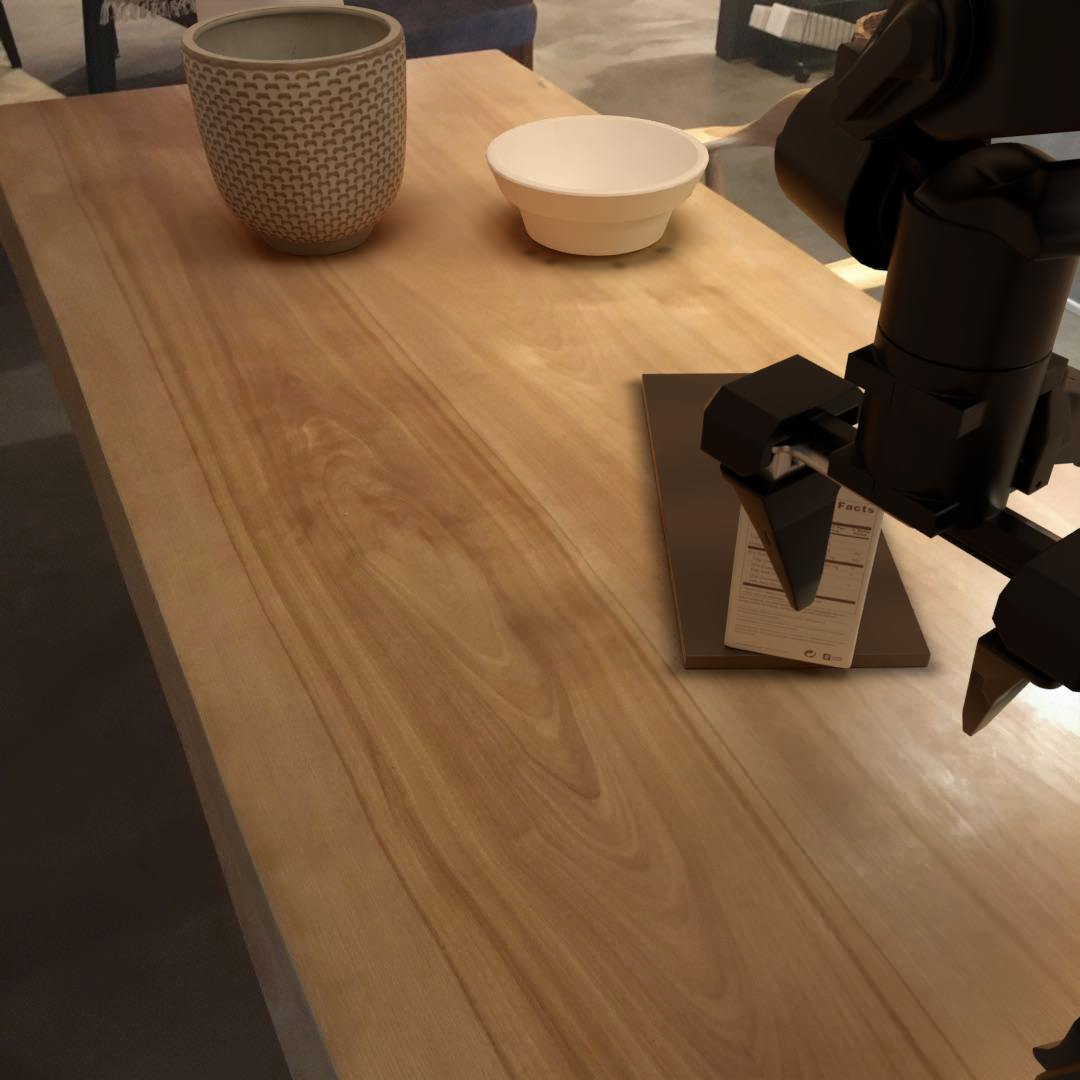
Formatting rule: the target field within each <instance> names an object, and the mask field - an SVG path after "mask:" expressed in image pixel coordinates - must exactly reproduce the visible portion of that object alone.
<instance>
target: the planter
mask: <svg viewBox="0 0 1080 1080" xmlns="http://www.w3.org/2000/svg"><path fill="white" fill-rule="evenodd" d="M404 31H405V30H404V27H403V25H402V23H400V22H399V21H398V20H397V19H396V18H395V17H393V16H391V15H389V14H388V13H384V12H381V11H379V10H375V9H371V8H368V7H367V8H366V7H361V6H355V5H347V4H344V5H338V4H315V3H306V4H281V5H270V6H261V7H254V8H247V9H241V10H236V11H231V12H227V13H223V14H219V15H216V16H213V17H210V18H207V19H205V20H202V21H200V22H198V21H197V22H196V23H194V24H192V25H191V26H189V27H188V28H187V29H186V30H184V32H183V33H182V34H181V37H180V56H181V62H182V66H183V72H184V75H185V80H186V85H187V87H188V91H189V96H190V99H191V103H192V108H193V112H194V117H195V120H196V125H197V129H198V133H199V136H200V140H201V142H202V147H203V150H204V153H205V154H204V155H205V157H206V160H207V163H208V167H209V170H210V172H211V175H212V178H213V181H214V183H215V185H216V187H217V190H218V193H219V194H220V196H221V198H222V200H223V201H224V203H225V205H226V207H227V208H228V209H229V210H230V211H231V213H232V214H233V215H234V216H236V218H237V219H238V220H239V221H240V222H241V223H242V224H244V225H245V226H247V227H248V228H250V229H252V230H254V232H257V233H258V234H259V235H260V237H261V238H262V240H263V241H264V242H265V243H266V244H267V245H268V246H270V247H271V248H272V249H274V250H275V251H277V252H280V253H283V254H288V255H293V256H302V257H319V256H320V257H321V256H329V255H335V254H339V253H343V252H346V251H350V250H352V249H354V248H356V247H358V246H360V245H361V244H363V243H365V241H367V239H368V238H369V237H370V235H371V233H372V231H373V229H374V227H375V224H376V223H378V222H379V221H380V220H381V219H382V218H383V217H384V216H385V215H386V213H388V211H389V210H390V208H391V207H392V206H393V204H394V202H395V201H396V199H397V197H398V195H399V192H400V189H401V187H402V183H403V178H404V172H405V164H406V152H407V123H408V122H407V121H408V119H407V118H408V97H407V95H408V94H407V92H408V91H407V88H408V87H407V42H406V37H405V32H404Z"/></svg>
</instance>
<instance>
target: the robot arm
mask: <svg viewBox="0 0 1080 1080" xmlns="http://www.w3.org/2000/svg"><path fill="white" fill-rule="evenodd" d="M1074 132H1080V0H892V2H891V3H890V5H889V7H888V8H887V10H886V11H885V13H884V15H883V17H881V19H880V21H879V23H878V24H877V26H876V28H875V29H874V31H873V32H872V34H871V36H870V37H869V39H868V40H865V41H851V42H841V43H840V44H839V45H838V46H837V48H836V56H835V62H834V70H833V75H831V76H829V77H827V78H825V79H824V80H822V81H821V82H819V83H818V84H816V85H815V86H814V87H812V88H811V89H810V90H809V91H808V92H807V93H806V94H805V95H804V96H803V97H802V98H801V99H800V100H799V101H798V102H797V104H796V106H795V107H794V108H793V110H792V111H791V112H790V114H789V115H788V117H787V118H786V121H785V124H784V126H783V128H782V130H781V132H780V133H779V134H778V135H777V137H776V138H775V139H776V140H775V145H774V152H773V159H774V161H773V163H774V165H773V167H774V172H775V176H776V180H777V183H778V186H779V188H780V189H781V191H782V192H783V194H784V195H785V197H786V198H787V199H788V200H789V201H790V202H791V203H792V204H793V205H794V206H796V207H797V208H798V209H799V210H800V211H801V212H802V213H803V214H805V215H806V217H808V218H809V219H810V220H811V221H812V222H813V223H814V224H816V225H817V227H819V228H820V229H821V230H822V231H823V232H824V233H826V234H827V236H829V237H830V238H831V239H832V240H833V241H835V243H837V245H839V246H840V247H841V248H842V249H843V250H844V251H846V252H847V253H848V254H849V255H850V256H851V257H852V258H854V260H856V261H857V262H858V263H859V264H860V265H863V266H865V267H867V268H869V269H872V270H874V271H880V272H882V271H883V272H886V277H885V282H884V286H883V287H884V288H883V293H882V297H881V302H880V309H879V313H878V318H877V324H876V328H875V334H874V340H873V342H871V343H869V344H867V345H864V346H862V347H860V348H858V349H855V350H853V351H851V352H849V353H847V359H846V364H845V370H844V376H843V377H841V376H840V375H838V374H836V373H834V372H832V371H831V370H828V369H826V368H825V367H823V366H820V365H819V364H817V363H815V362H813V360H809V359H808V358H806V357H804V356H803V355H800V354H798V353H795V354H794V355H791V356H789V357H786V358H784V359H782V360H779V361H777V362H775V363H773V364H769V365H767V366H765V367H763V368H761V369H758V370H755V371H753V372H750V373H751V374H748V375H746V376H744V377H741V378H739V379H737V380H734V381H732V382H730V383H727V384H725V385H722V386H721V387H719V388H718V389H716V390H715V392H714V393H713V395H712V396H711V397H710V399H709V400H708V402H707V403H706V405H705V406H704V413H703V423H702V433H701V445H700V450H702V451H704V452H705V453H707V454H708V455H710V456H711V457H713V458H714V459H716V460H717V461H719V462H720V468H719V470H720V475H721V477H722V478H723V479H724V480H725V481H727V482H728V483H729V484H730V485H731V486H732V487H733V489H734V491H735V493H736V495H737V496H738V498H739V500H740V502H741V504H742V506H743V508H744V510H745V511H746V513H747V515H748V517H749V519H750V521H751V523H752V525H753V526H754V528H755V530H756V532H757V534H758V536H759V538H760V540H761V542H762V544H763V547H764V549H765V550H766V553H767V555H768V557H769V559H770V562H771V564H772V566H773V568H774V570H775V573H776V575H777V577H778V579H779V582H780V584H781V586H782V588H783V590H784V593H785V595H786V597H787V599H788V602H789V604H790V606H791V607H792V608H793V609H794V610H796V611H801V610H803V609H804V608H806V607H808V606H810V605H811V604H812V603H813V602H814V600H815V597H816V594H817V591H818V588H819V584H820V581H821V578H822V574H823V569H824V564H825V558H826V553H827V548H828V542H829V537H830V532H831V526H832V521H833V516H834V510H835V505H836V499H837V496H838V493H839V490H840V489H841V487H844V488H845V489H847V490H849V491H850V492H852V493H854V494H855V495H857V496H859V497H860V498H862V499H863V500H865V501H867V502H868V503H870V504H872V505H873V506H875V507H877V508H878V509H880V510H881V511H883V512H884V514H887V515H888V516H890V517H891V518H893V519H895V520H896V521H898V522H899V523H901V524H902V525H904V526H906V527H908V528H910V529H914V530H916V531H918V532H919V533H920V534H922V535H923V536H925V537H928V538H929V539H934V538H935V537H937V536H938V537H939V538H941V539H943V540H944V541H947V542H948V543H949V544H951V545H952V546H954V547H956V548H958V549H960V550H961V551H963V552H965V553H966V554H968V555H969V556H971V557H973V558H975V559H976V560H978V561H979V562H981V563H983V564H984V565H986V566H988V567H989V568H991V569H992V570H994V571H996V572H998V573H999V574H1001V575H1003V576H1004V577H1005V578H1008V580H1009V581H1007V583H1006V585H1005V586H1004V588H1003V589H1002V590H1001V591H1000V593H998V597H997V600H996V603H995V606H994V609H993V613H992V616H991V620H992V623H993V625H994V627H993V628H991V629H989V630H988V631H987V632H986V633H984V634H982V635H981V636H979V637H978V638H977V641H976V645H975V650H974V655H973V659H972V663H971V669H970V674H969V678H968V683H967V688H966V692H965V696H964V701H963V706H962V710H961V711H962V712H961V724H962V727H961V729H962V732H963V733H964V734H966V735H967V736H969V737H974V736H975V735H976V734H977V733H979V732H980V731H982V730H983V729H984V728H986V727H987V726H988V725H989V724H990V723H991V722H992V721H993V720H994V719H995V718H996V717H997V716H998V715H1000V713H1001V712H1003V710H1004V709H1005V708H1006V707H1007V706H1008V705H1009V704H1010V703H1011V702H1012V701H1013V700H1014V699H1015V698H1016V697H1017V696H1018V695H1019V694H1020V693H1021V692H1022V691H1023V690H1024V689H1025V688H1026V687H1027V686H1028V685H1029V684H1032V685H1033V686H1035V687H1037V688H1039V689H1043V690H1050V691H1052V690H1056V689H1059V688H1061V687H1062V686H1063V687H1065V688H1066V689H1067V690H1069V691H1070V692H1073V693H1080V527H1078V528H1076V529H1075V530H1073V531H1071V532H1070V533H1069V534H1067V535H1065V536H1064V537H1061V536H1060V535H1059V534H1056V533H1055V532H1053V531H1051V530H1049V529H1047V528H1045V527H1044V526H1042V525H1040V524H1038V522H1037V523H1036V522H1035V521H1033V520H1031V519H1030V518H1028V517H1027V516H1024V515H1022V514H1020V513H1018V512H1017V511H1015V510H1014V509H1012V508H1010V507H1008V506H1007V504H1008V501H1009V498H1010V494H1012V493H1014V492H1015V491H1019V492H1020V493H1022V494H1024V495H1025V496H1030V495H1033V494H1034V493H1036V492H1037V491H1039V490H1041V489H1043V488H1044V487H1046V486H1048V485H1049V483H1050V480H1051V476H1052V473H1053V470H1054V467H1055V466H1057V465H1066V464H1072V465H1073V466H1074V467H1076V468H1080V369H1078V368H1075V367H1074V366H1071V365H1070V364H1069V362H1070V359H1069V358H1068V357H1064V356H1062V355H1060V354H1058V353H1056V352H1055V351H1054V352H1053V350H1054V347H1055V346H1054V345H1055V342H1056V339H1057V336H1058V332H1059V330H1060V325H1061V323H1062V320H1063V316H1064V313H1065V310H1066V309H1065V308H1066V306H1067V302H1068V299H1069V295H1070V293H1071V289H1072V285H1073V282H1074V279H1075V276H1076V272H1077V268H1078V266H1079V262H1080V158H1071V159H1070V158H1069V159H1061V160H1060V159H1059V160H1058V159H1056V158H1054V157H1053V156H1051V155H1049V154H1048V153H1046V152H1044V151H1043V150H1041V149H1040V148H1037V147H1035V146H1032V145H1029V144H1027V143H1021V142H1014V141H1013V142H1012V141H1009V142H1008V141H1007V142H1006V141H1005V142H1003V141H1002V142H994V143H992V139H1001V138H1002V139H1003V138H1014V137H1027V136H1039V135H1051V134H1063V133H1074ZM855 424H858V427H857V428H855V427H854V426H853V425H855ZM1031 1050H1032V1055H1033V1057H1034V1059H1035V1060H1036V1061H1037V1063H1039V1065H1040V1066H1041V1067H1042V1068H1043V1069H1044V1070H1045V1071H1042V1072H1040V1073H1038V1074H1037V1075H1036V1076H1035V1078H1034V1079H1033V1080H1080V1016H1078V1017H1077V1018H1076V1019H1075V1020H1074V1021H1073V1023H1072V1024H1071V1026H1070V1028H1069V1029H1068V1031H1067V1032H1066V1034H1065V1036H1064V1038H1063V1039H1059V1040H1055V1041H1052V1042H1048V1043H1045V1044H1041V1045H1038V1046H1034V1047H1032V1049H1031Z"/></svg>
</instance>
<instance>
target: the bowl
mask: <svg viewBox="0 0 1080 1080" xmlns="http://www.w3.org/2000/svg"><path fill="white" fill-rule="evenodd" d="M485 159H486V163H487V165H488V168H489V170H490V171H491V173H492V175H493V177H494V180H495V182H496V184H497V186H498V188H499V190H500V192H501V193H502V195H503V196H504V197H505V198H506V199H507V201H509V202H510V203H511V204H513V205H514V206H516V207H518V209H519V212H520V215H521V218H522V221H523V224H524V228H525V230H526V233H527V234H528V236H529V237H530V238H531V239H532V240H533V241H535V242H537V243H538V244H540V245H541V246H544V247H546V248H547V249H550V250H555V251H558V252H561V253H567V254H571V255H579V256H594V257H595V256H597V257H599V256H601V257H602V256H614V255H615V256H616V255H622V254H628V253H632V252H636V251H639V250H643V249H645V248H647V247H650V246H651V245H653V244H655V243H656V242H658V241H659V240H660V239H661V238H662V237H663V235H664V233H665V230H666V228H667V226H668V223H669V221H670V218H671V215H672V213H673V210H674V209H676V208H678V207H680V206H681V205H683V204H684V203H685V202H686V201H688V199H690V197H691V196H692V194H693V193H694V190H695V188H696V187H697V185H698V183H699V181H700V180H701V178H702V176H703V175H704V172H705V171H706V169H707V167H708V164H709V161H710V156H709V150H708V148H707V146H705V144H704V143H703V142H702V141H701V140H700V139H699V138H697V137H696V136H695V135H693V134H691V133H689V132H687V131H685V130H683V129H681V128H678V127H676V126H673V125H669V124H666V123H663V122H660V121H659V122H658V121H654V120H650V119H645V118H638V117H632V116H623V115H622V116H621V115H610V114H609V115H607V114H580V115H567V116H566V115H565V116H558V117H557V116H556V117H550V118H544V119H540V120H535V121H530V122H527V123H524V124H521V125H517V126H514V127H512V128H510V129H508V130H506V131H503V132H501V133H500V134H499V135H497V136H496V137H494V138H493V140H492V141H491V142H490V143H489V145H488V146H487V148H486V152H485Z"/></svg>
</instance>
